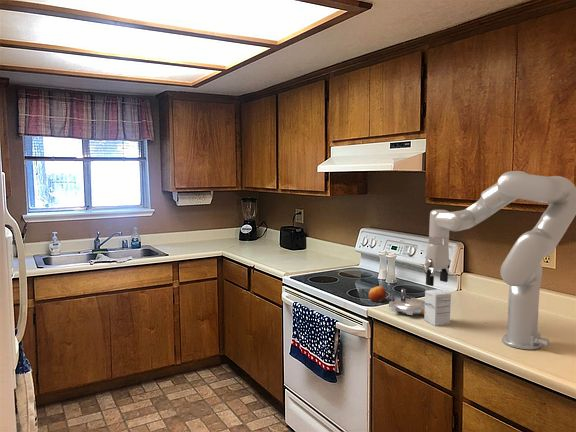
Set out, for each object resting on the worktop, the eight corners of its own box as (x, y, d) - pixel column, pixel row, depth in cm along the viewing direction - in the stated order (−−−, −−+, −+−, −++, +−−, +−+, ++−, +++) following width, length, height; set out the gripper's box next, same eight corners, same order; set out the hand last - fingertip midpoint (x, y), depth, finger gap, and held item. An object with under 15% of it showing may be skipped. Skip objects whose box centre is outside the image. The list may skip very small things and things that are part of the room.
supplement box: (423, 320, 189) (424, 290, 188) (439, 318, 191) (439, 288, 190) (434, 326, 182) (435, 295, 181) (450, 324, 184) (451, 293, 183)
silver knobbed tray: (415, 299, 213) (415, 285, 213) (445, 311, 196) (445, 295, 195) (380, 305, 206) (380, 289, 205) (408, 317, 188) (408, 301, 187)
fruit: (386, 301, 212) (378, 285, 213) (372, 308, 216) (363, 292, 217) (391, 297, 219) (383, 281, 220) (378, 303, 223) (369, 288, 224)
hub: (428, 312, 200) (428, 309, 200) (414, 316, 194) (414, 314, 194) (409, 306, 208) (409, 304, 208) (395, 311, 202) (395, 308, 201)
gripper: (442, 237, 192) (440, 278, 194) (417, 242, 181) (415, 284, 183) (459, 240, 186) (457, 281, 188) (434, 244, 175) (432, 289, 177)
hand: (436, 283), depth 186 cm, fingers open, 9 cm apart
